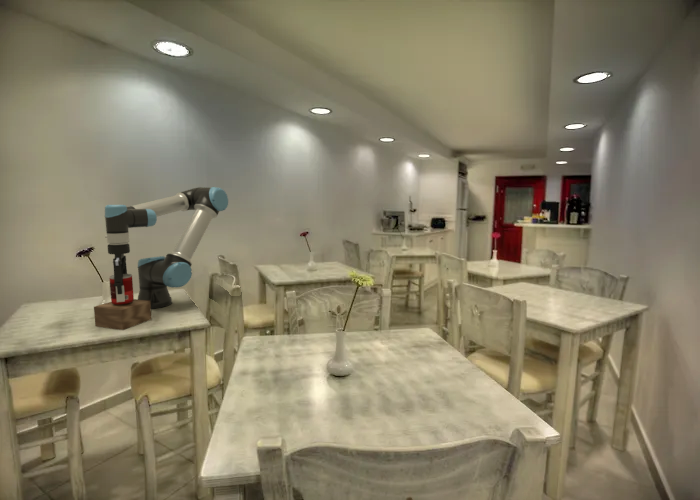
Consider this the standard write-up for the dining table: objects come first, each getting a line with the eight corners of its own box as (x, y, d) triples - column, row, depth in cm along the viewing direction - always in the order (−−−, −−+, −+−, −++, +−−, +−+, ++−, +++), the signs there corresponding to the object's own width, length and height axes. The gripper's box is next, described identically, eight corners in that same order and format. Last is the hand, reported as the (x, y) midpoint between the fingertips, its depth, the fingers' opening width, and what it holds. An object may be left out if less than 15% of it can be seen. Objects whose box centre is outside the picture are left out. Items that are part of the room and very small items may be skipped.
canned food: (138, 299, 158) (136, 273, 157) (124, 305, 150) (122, 277, 149) (120, 299, 159) (118, 273, 157) (106, 304, 151) (104, 277, 149)
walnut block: (125, 316, 164) (124, 298, 163) (151, 319, 160) (150, 300, 159) (95, 326, 151) (93, 306, 150) (122, 330, 147) (121, 310, 146)
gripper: (112, 241, 159) (116, 294, 162) (101, 247, 140) (106, 306, 143) (132, 240, 162) (136, 292, 165) (125, 246, 143) (129, 304, 146)
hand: (122, 299), depth 154 cm, fingers closed on canned food, 8 cm apart
